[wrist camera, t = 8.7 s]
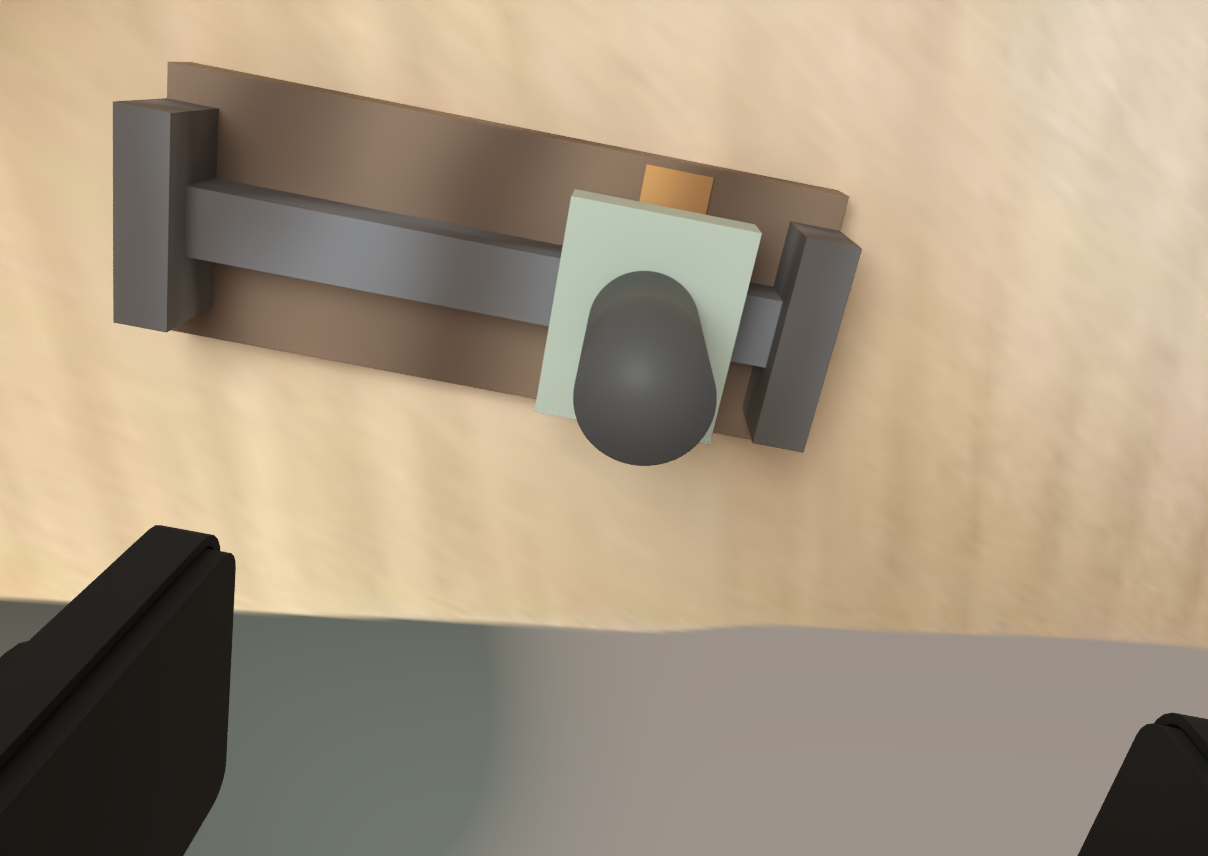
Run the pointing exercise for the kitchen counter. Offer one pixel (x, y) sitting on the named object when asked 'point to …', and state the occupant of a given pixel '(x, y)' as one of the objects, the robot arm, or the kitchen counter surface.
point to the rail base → (442, 189)
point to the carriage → (644, 324)
